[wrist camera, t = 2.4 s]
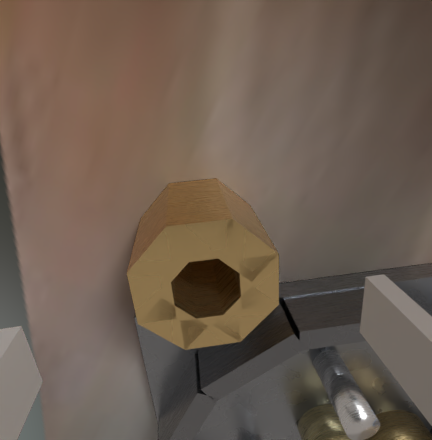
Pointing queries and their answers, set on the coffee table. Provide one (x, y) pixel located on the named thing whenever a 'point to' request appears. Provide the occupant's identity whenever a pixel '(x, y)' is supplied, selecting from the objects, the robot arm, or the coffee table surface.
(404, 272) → the carrier
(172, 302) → the octagonal brass tube
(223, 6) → the coffee table surface
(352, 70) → the coffee table surface
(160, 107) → the coffee table surface
